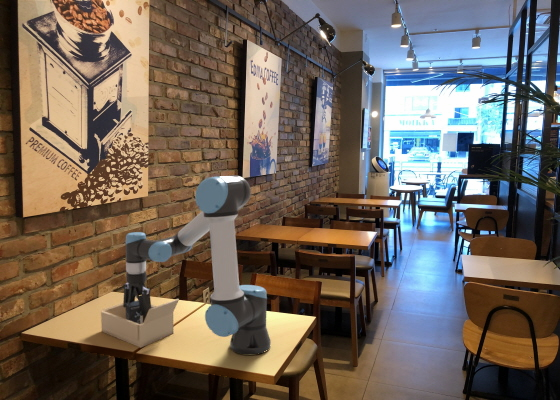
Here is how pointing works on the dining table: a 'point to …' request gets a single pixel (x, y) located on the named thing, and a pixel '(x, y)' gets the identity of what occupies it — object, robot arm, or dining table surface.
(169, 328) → the carton
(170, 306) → the flap
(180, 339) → the dining table surface
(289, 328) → the dining table surface
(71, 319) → the dining table surface
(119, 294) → the dining table surface
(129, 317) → the box
